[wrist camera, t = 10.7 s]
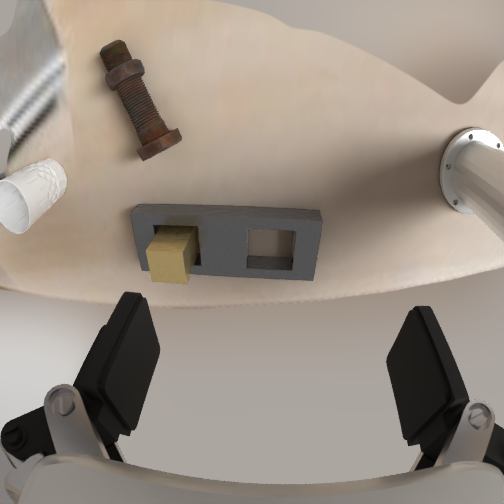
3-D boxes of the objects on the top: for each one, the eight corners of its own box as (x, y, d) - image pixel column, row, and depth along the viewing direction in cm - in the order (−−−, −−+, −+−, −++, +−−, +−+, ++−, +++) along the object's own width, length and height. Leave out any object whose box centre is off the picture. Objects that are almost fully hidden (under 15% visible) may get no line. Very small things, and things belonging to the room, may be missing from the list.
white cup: (71, 205, 40) (34, 239, 32) (35, 197, 39) (-3, 228, 31) (69, 156, 36) (25, 183, 27) (32, 152, 35) (-12, 177, 27)
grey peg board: (319, 210, 38) (322, 221, 36) (311, 267, 43) (313, 280, 41) (138, 204, 39) (130, 213, 37) (148, 258, 44) (141, 270, 42)
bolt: (129, 44, 29) (177, 141, 36) (93, 62, 28) (141, 160, 35) (131, 27, 24) (185, 139, 31) (89, 47, 23) (144, 161, 30)
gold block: (197, 219, 40) (182, 252, 34) (200, 248, 43) (186, 284, 36) (166, 218, 40) (145, 250, 34) (169, 246, 43) (152, 281, 36)
